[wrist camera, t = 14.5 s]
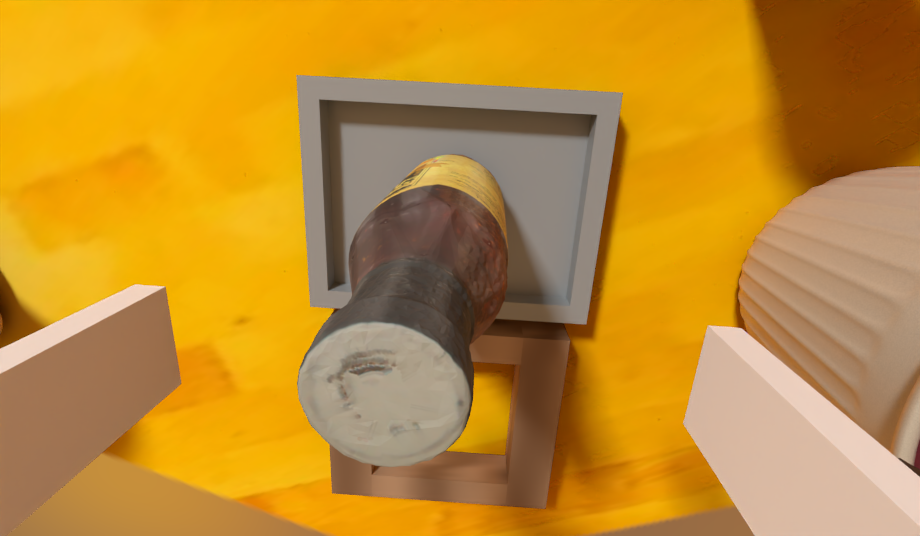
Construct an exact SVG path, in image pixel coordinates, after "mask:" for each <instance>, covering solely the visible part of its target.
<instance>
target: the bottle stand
mask: <svg viewBox="0 0 920 536" xmlns="http://www.w3.org/2000/svg"><path fill="white" fill-rule="evenodd" d="M338 310H340V309H339V308H336V309H335V310H334V311H333V313H332V314H331V316H332V315H333V314H334V313H335V312H337V311H338ZM331 316H330V317H331ZM330 317H329V318H330ZM569 346H570V339H569V337H568V334H567V331H566V329H565V326H564V324H563V323H556V322H540V321H525V320H509V319H495V320H494V322H493V323H492V324H491V325H490V327H489V328H488V329H487V330H486V331H485V332H484V333H483V334H482V335H481V336H480V337H479V338H477V339H476V340H475V341H474V342H473V343H472V344H470V346H469V350H470V353H471V359H472V362H483V363H498V364H513V365H515V368H514V377H513V387H512V396H511V406H510V416H509V425H508V435H507V444H506V454H505V455H492V454H478V453H464V452H450V451H445V452H443V453H441V454H439V455H437V456H436V457H434V458H433V459H432V460H429V461H423V462H420V463H418V464H415V465H411V466H399V467H382V466H375V465H372V464H366V463H362V462H359V461H357V460H355V459H353V458H350V457H347V456H345V455H343V454H342V453H341V452H339V451H338V450H337V449H335V448H334V447H333V446H331V445H330V460H331V480H332V493H336V494H349V495H363V496H377V497H390V498H404V499H418V500H431V501H445V502H459V503H472V504H486V505H500V506H513V507H527V508H541V509H546V503H547V496H548V489H549V482H550V475H551V469H552V462H553V455H554V448H555V441H556V435H557V428H558V421H559V414H560V407H561V401H562V394H563V387H564V380H565V373H566V367H567V360H568V353H569Z"/></svg>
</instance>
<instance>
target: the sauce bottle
mask: <svg viewBox="0 0 920 536" xmlns="http://www.w3.org/2000/svg"><path fill="white" fill-rule="evenodd" d="M348 266H349V275H350V283H351V291H352V297H351V299H350V300H349V302H348V304H347V305H346V306H344V307H343V308H341V309H340V310H338V311H337V312H335V313H334V314H333V315H332V316H331V317H330V318H328V320H327V321H326V322H325V323H324V324H323V326H322V327H321V329H320V330H319V332H318V334H317V335H316V337H315V339H314V341H313V343H312V345H311V346H310V348H309V350H308V351H307V353H306V354H305V356H304V359H303V362H302V364H301V367H300V369H299V375H298V382H297V385H298V394H299V401H300V403H301V405H302V408H303V410H304V412H305V414H306V416H307V418H308V420H309V423H310V424H311V426H312V427H313V428H314V429H315V430H316V431H317V432H318V433H319V434H320V435H321V436H322V437H323V438H324V439H325V440H326V441H327V442H328V443H329V444H330V445H331V446H333V447H334V448H335V449H337V450H338V451H339V452H341V453H342V454H343V455H345V456H347V457H350V458H353V459H355V460H357V461H359V462H362V463H366V464H372V465H375V466H382V467H399V466H411V465H415V464H418V463H420V462H423V461H429V460H432V459H433V458H434V457H436V456H437V455H439V454H441V453H443V452H445V451H446V450H447V449H448V448H449V447H450V446H451V445H452V444H454V442H455V441H456V440H457V439H458V438H459V437H460V435H461V434H462V432H463V430H464V429H465V427H466V424H467V421H468V419H469V416H470V411H471V406H472V401H473V385H474V368H473V363H472V359H471V353H470V350H469V346H470V344H472V343H473V342H474V341H475V340H476V339H477V338H479V337H480V336H481V335H482V334H483V333H484V332H485V331H486V330H487V329H488V328H489V327H490V325H491V324H492V323H493V322H494V320H495V318H496V316H497V315H498V313H499V312H500V309H501V307H502V304H503V302H504V300H505V292H506V289H507V278H508V277H507V267H508V244H507V232H506V221H505V211H504V202H503V196H502V192H501V189H500V187H499V185H498V183H497V181H496V179H495V178H494V176H493V175H492V174H491V172H490V171H488V170H487V169H486V168H485V167H484V166H482V165H481V164H480V163H478V162H477V161H475V160H473V159H472V158H469V157H467V156H464V155H456V154H450V155H441V156H437V157H433V158H430V159H427V160H425V161H424V162H422V163H421V164H419V165H418V166H417V167H416V168H415V169H414V170H413V171H412V172H411V173H409V174H408V176H407V177H406V178H405V179H404V180H403V181H402V182H401V183H400V184H398V185H397V186H396V187H395V188H394V189H393V190H392V191H391V192H390V193H389V194H388V195H387V196H386V197H385V198H384V199H383V200H382V201H381V202H380V203H379V204H378V205H377V206H376V207H375V208H374V209H373V210H372V211H371V212H370V213H369V215H368V216H367V217H366V218H365V219H364V221H363V222H362V223H361V225H360V226H359V228H358V230H357V231H356V233H355V235H354V238H353V240H352V243H351V246H350V251H349V260H348Z"/></svg>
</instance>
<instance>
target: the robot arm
mask: <svg viewBox="0 0 920 536" xmlns="http://www.w3.org/2000/svg"><path fill="white" fill-rule="evenodd" d="M180 384H181V379H180V373H179V366H178V360H177V354H176V348H175V342H174V336H173V330H172V324H171V318H170V312H169V306H168V300H167V294H166V288H165V287H163V286H149V285H133V286H131V287H129V288H127V289H125V290H123V291H121V292H118V293H116V294H114V295H112V296H110V297H108V298H106V299H104V300H102V301H100V302H97V303H95V304H93V305H91V306H89V307H87V308H85V309H83V310H81V311H79V312H76V313H74V314H72V315H70V316H68V317H66V318H64V319H62V320H60V321H58V322H55V323H53V324H51V325H49V326H47V327H45V328H43V329H41V330H39V331H37V332H34V333H32V334H30V335H28V336H26V337H24V338H22V339H20V340H18V341H16V342H14V343H11V344H9V345H7V346H5V347H3V348H1V349H0V536H7V535H8V534H9V533H10V532H12V531H13V530H14V529H15V528H16V527H17V526H19V525H20V524H21V523H22V522H23V521H24V520H25V519H27V518H28V517H29V516H30V515H31V514H32V513H33V512H35V511H36V510H37V509H38V508H39V507H40V506H42V505H43V504H44V503H45V502H46V501H47V500H48V499H50V498H51V497H52V496H53V495H54V494H55V493H56V492H58V491H59V490H60V489H61V488H62V487H63V486H64V485H65V484H67V483H68V482H69V481H70V480H71V479H72V478H74V477H75V476H76V475H77V474H78V473H79V472H80V471H82V470H83V469H84V468H85V467H86V466H87V465H88V464H90V463H91V462H92V461H93V460H94V459H95V458H97V457H98V456H99V455H100V454H101V453H102V452H103V451H105V450H106V449H107V448H108V447H109V446H110V445H111V444H113V443H114V442H115V441H116V440H117V439H118V438H120V437H121V436H122V435H123V434H124V433H125V432H126V431H128V430H129V429H130V428H131V427H132V426H133V425H134V424H136V423H137V422H138V421H139V420H140V419H141V418H142V417H144V416H145V415H146V414H147V413H148V412H149V411H150V410H152V409H153V408H154V407H155V406H156V405H157V404H159V403H160V402H161V401H162V400H163V399H164V398H165V397H167V396H168V395H169V394H170V393H171V392H172V391H173V390H175V389H176V388H177V387H178V386H179V385H180ZM683 424H684V426H685V427H686V429H687V430H688V432H689V433H690V435H691V437H692V438H693V440H694V441H695V443H696V444H697V446H698V448H699V449H700V451H701V452H702V454H703V455H704V457H705V458H706V460H707V462H708V463H709V465H710V466H711V468H712V469H713V471H714V473H715V474H716V476H717V477H718V479H719V480H720V482H721V484H722V485H723V487H724V488H725V490H726V491H727V493H728V495H729V496H730V498H731V499H732V501H733V502H734V504H735V506H736V507H737V509H738V510H739V512H740V513H741V515H742V517H743V518H744V520H745V521H746V523H747V524H748V526H749V528H750V529H751V531H752V532H753V534H754V535H755V536H920V469H918V468H916V467H915V466H913V465H911V464H909V463H908V462H906V461H904V460H903V459H901V458H896V457H895V456H894V455H893V454H892V453H890V452H889V451H888V450H887V449H886V448H884V447H883V446H882V445H881V444H880V443H878V442H877V441H876V440H875V439H874V438H872V437H871V436H870V435H869V434H868V433H866V432H865V431H864V430H863V429H862V428H860V427H859V426H858V425H857V424H856V423H854V422H853V421H852V420H851V419H850V418H848V417H847V416H846V415H845V414H844V413H842V412H841V411H840V410H839V409H838V408H836V407H835V406H834V405H833V404H832V403H830V402H829V401H828V400H827V399H826V398H824V397H823V396H822V395H821V394H820V393H818V392H817V391H816V390H815V389H814V388H812V387H811V386H810V385H809V384H808V383H806V382H805V381H804V380H803V379H802V378H800V377H799V376H798V375H797V374H796V373H794V372H793V371H792V370H791V369H790V368H788V367H787V366H786V365H785V364H784V363H782V362H781V361H780V360H779V359H778V358H776V357H775V356H774V355H773V354H772V353H770V352H769V351H768V350H767V349H766V348H764V347H763V346H762V345H761V344H760V343H758V342H757V341H756V340H755V339H754V338H752V337H751V336H750V335H749V334H748V333H747V332H745V331H744V330H743V329H742V328H735V327H721V326H708V327H707V331H706V335H705V339H704V343H703V347H702V351H701V355H700V359H699V363H698V367H697V371H696V375H695V379H694V383H693V387H692V391H691V395H690V399H689V403H688V407H687V411H686V415H685V419H684V423H683Z"/></svg>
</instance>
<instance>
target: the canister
mask: <svg viewBox="0 0 920 536" xmlns="http://www.w3.org/2000/svg"><path fill="white" fill-rule="evenodd" d="M739 286H740V290H739V293H738V299H739V302H740V313H741V316H742V318H743V320H744V324H745V328H746V330H747V332H748V334H749V335H750V336H751V337H752V338H754V339H755V340H756V341H757V342H758V343H760V344H761V345H762V346H763V347H764V348H766V349H767V350H768V351H769V352H770V353H772V354H773V355H774V356H775V357H776V358H778V359H779V360H780V361H781V362H782V363H784V364H785V365H786V366H787V367H788V368H790V369H791V370H792V371H793V372H794V373H796V374H797V375H798V376H799V377H800V378H802V379H803V380H804V381H805V382H806V383H808V384H809V385H810V386H811V387H812V388H814V389H815V390H816V391H817V392H818V393H820V394H821V395H822V396H823V397H824V398H826V399H827V400H828V401H829V402H830V403H832V404H833V405H834V406H835V407H836V408H838V409H839V410H840V411H841V412H842V413H844V414H845V415H846V416H847V417H848V418H850V419H851V420H852V421H853V422H854V423H856V424H857V425H858V426H859V427H860V428H862V429H863V430H864V431H865V432H866V433H868V434H869V435H870V436H871V437H872V438H874V439H875V440H876V441H877V442H878V443H880V444H881V445H882V446H883V447H884V448H886V449H887V450H888V451H889V452H890V453H892V454H893V455H894V456H895V457H896V458H901V459H903V460H904V461H906V462H908V463H909V464H911V465H913V466H915V467H916V468H918V469H920V166H908V167H887V168H879V169H875V170H866V171H858V172H855V173H851V174H849V175H846V176H844V177H837V178H834V179H831V180H829V181H827V182H825V183H824V184H823V185H819V186H815V187H813V188H810V189H809V190H808V191H807V192H806V193H804V194H803V195H801V196H798V197H796V198H794V199H793V200H792V201H791V202H790V203H789V204H788V205H787V206H786V207H784V208H782V209H780V210H778V212H777V214H776V215H775V216H774V217H773V218H772V219H771V220H770V221H768V222H767V223H766V224H765V227H764V228H763V230H762V231H761V232H760V233H759V235H757V236H756V237H755V241H754V243H753V245H752V246H751V248H750V249H749V250H748V251H747V258H746V260H745V262H744V263H743V264H742V273H741V277H740V278H739Z"/></svg>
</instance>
